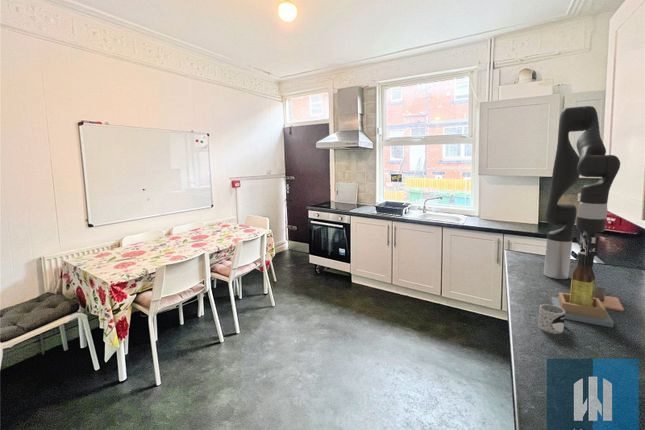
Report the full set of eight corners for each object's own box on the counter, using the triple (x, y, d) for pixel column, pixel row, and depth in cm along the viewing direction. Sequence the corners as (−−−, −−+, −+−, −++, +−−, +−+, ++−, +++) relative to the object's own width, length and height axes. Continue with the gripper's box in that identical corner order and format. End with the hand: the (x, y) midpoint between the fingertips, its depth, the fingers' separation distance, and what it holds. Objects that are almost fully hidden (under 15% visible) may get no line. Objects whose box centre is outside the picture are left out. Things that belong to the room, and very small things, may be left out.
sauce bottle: (595, 313, 109) (603, 256, 106) (574, 312, 111) (582, 255, 107) (584, 305, 116) (591, 251, 113) (564, 303, 117) (571, 250, 114)
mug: (555, 336, 99) (558, 315, 98) (533, 326, 105) (535, 307, 104) (573, 328, 104) (575, 308, 102) (550, 319, 109) (552, 300, 108)
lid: (575, 293, 131) (577, 279, 130) (617, 300, 124) (619, 285, 123) (578, 304, 121) (580, 288, 120) (623, 312, 114) (625, 296, 113)
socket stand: (551, 300, 124) (552, 289, 123) (601, 308, 116) (603, 297, 115) (555, 316, 111) (557, 304, 110) (613, 327, 103) (615, 314, 103)
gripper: (612, 220, 100) (605, 271, 103) (601, 213, 112) (595, 259, 115) (581, 218, 103) (575, 267, 106) (573, 212, 116) (568, 256, 118)
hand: (585, 263), depth 110 cm, fingers open, 8 cm apart
